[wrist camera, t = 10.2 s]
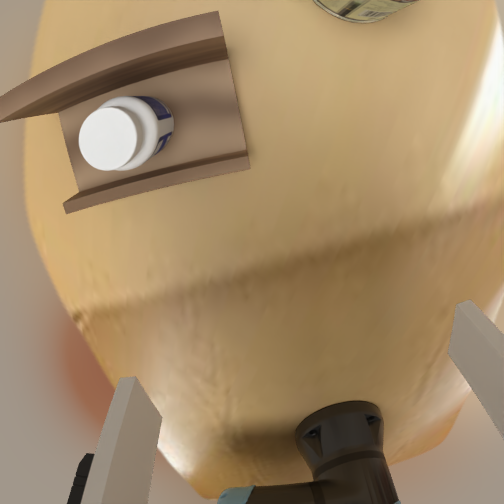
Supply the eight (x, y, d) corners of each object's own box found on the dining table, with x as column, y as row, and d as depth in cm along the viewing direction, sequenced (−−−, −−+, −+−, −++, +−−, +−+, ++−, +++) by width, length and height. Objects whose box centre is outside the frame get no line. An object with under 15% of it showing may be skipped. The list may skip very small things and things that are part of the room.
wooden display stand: (248, 156, 29) (254, 189, 18) (92, 194, 30) (30, 243, 19) (226, 46, 25) (218, 10, 14) (67, 96, 25) (-10, 103, 14)
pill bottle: (113, 102, 24) (64, 105, 16) (171, 91, 24) (142, 87, 16) (121, 160, 26) (77, 186, 18) (178, 152, 26) (152, 174, 18)
